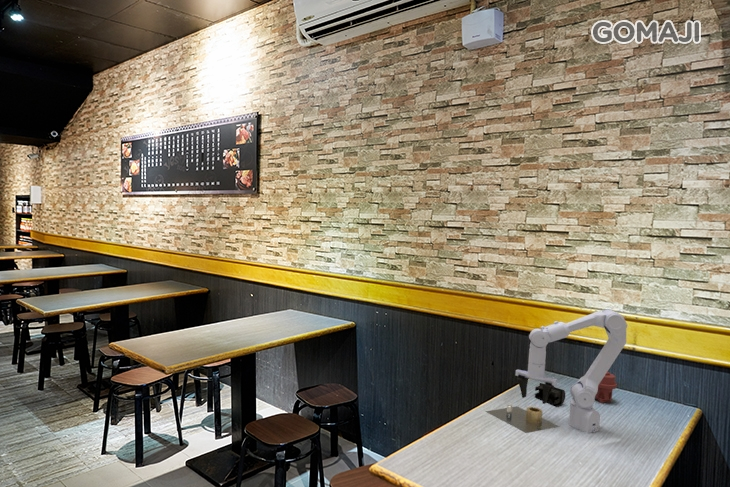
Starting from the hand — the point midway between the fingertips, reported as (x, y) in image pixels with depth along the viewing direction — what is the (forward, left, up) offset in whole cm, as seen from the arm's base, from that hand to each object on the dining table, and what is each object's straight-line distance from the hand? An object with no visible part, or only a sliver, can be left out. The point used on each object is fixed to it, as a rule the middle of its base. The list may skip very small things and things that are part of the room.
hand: (534, 400), depth 174 cm
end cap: (+14, -24, -9) cm, 29 cm away
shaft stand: (+2, +4, -8) cm, 10 cm away
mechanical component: (+8, -49, -9) cm, 50 cm away
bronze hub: (-1, +1, -7) cm, 7 cm away
